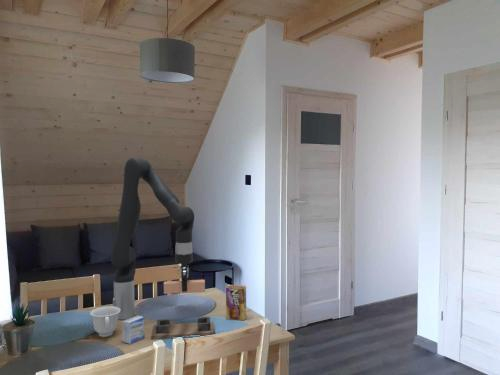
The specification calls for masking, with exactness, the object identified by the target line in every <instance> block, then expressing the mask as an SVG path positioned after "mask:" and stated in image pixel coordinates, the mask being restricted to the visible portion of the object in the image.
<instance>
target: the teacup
mask: <svg viewBox="0 0 500 375" xmlns="http://www.w3.org/2000/svg"><path fill="white" fill-rule="evenodd" d="M119 312H120V308H118V307H114V306H113V305H112V306H111V305H109V306H101V307H97V308H94V309H92V310H91V311H90V312H89V314H90V315H91V317H92V322H93V324H92V325H93V328H94V331H95V332H96V333H97V334H98V337H101V338H107V337H110V336H112V335H113V334H114V332H115V330H117V327H118V321H119V319H118V315H119Z"/></svg>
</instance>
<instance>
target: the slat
mask: <svg viewBox="0 0 500 375" xmlns="http://www.w3.org/2000/svg"><path fill="white" fill-rule="evenodd" d="M181 281H182V280H168V281H163V294H164V295H172V294H191V293H205V292H206V280H205V279H191V280H190V279H189V280H188V279H187V281H188V282H187V291H186V292H182V283H181Z"/></svg>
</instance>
